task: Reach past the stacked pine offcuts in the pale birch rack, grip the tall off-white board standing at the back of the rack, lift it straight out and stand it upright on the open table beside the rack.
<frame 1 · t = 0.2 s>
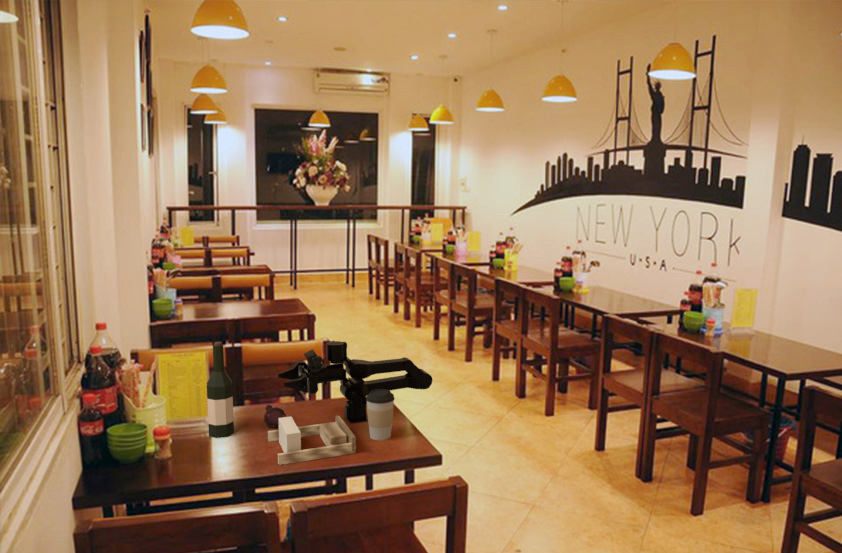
hand: (280, 380, 207), 17 cm above the table, tool horizontal, fingers open, 9 cm apart
offcut upper: (332, 437, 199), point 2 cm above the table, touching offcut lower
rack: (310, 446, 197), on the table
tall board: (289, 450, 194), on the table
coffee cup: (380, 436, 205), on the table
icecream: (275, 427, 212), on the table
offcut lower: (333, 444, 200), on the table, touching offcut upper
wine bottle: (221, 433, 207), on the table
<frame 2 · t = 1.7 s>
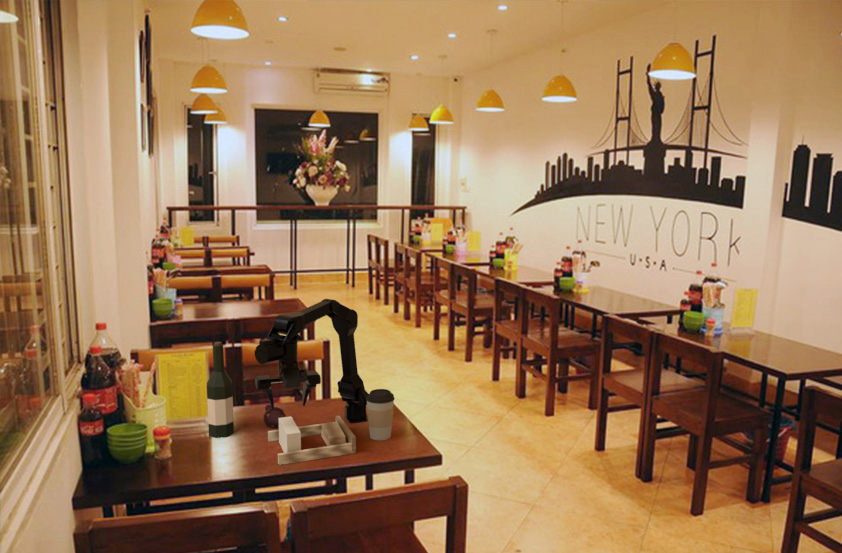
hand: (288, 407, 193), 13 cm above the table, tool pointing down, fingers open, 9 cm apart
nothing on the table moved.
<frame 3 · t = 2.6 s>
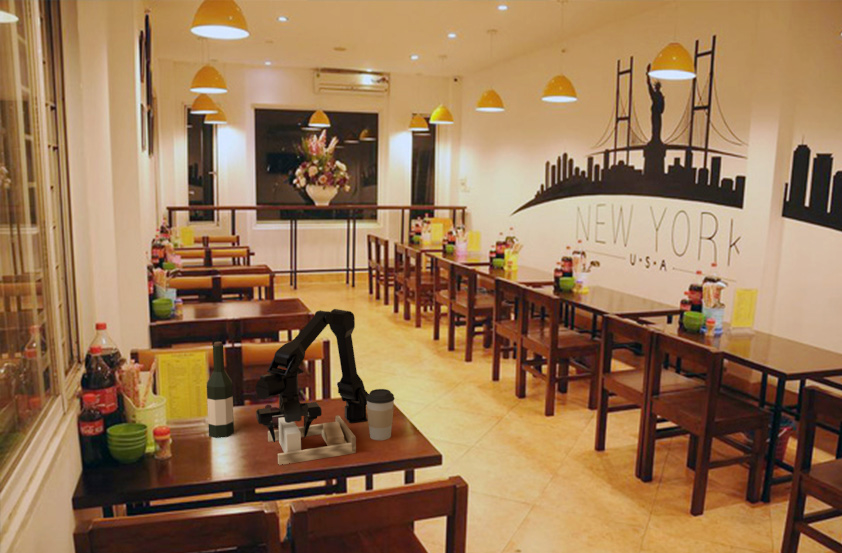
hand: (289, 439, 194), 3 cm above the table, tool pointing down, fingers open, 9 cm apart
offcut upper: (333, 437, 199), point 2 cm above the table, touching offcut lower, rack
everything else where it was.
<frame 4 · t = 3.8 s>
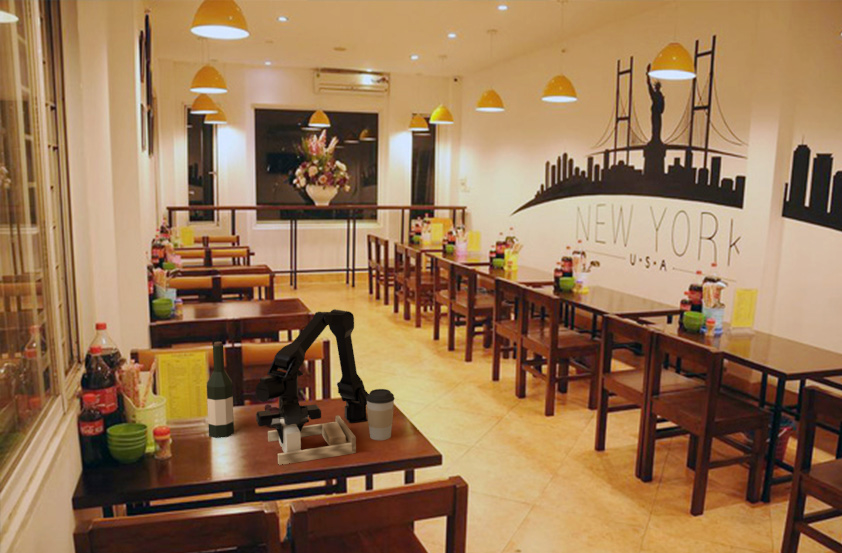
hand: (289, 442, 194), 2 cm above the table, tool pointing down, fingers closed on tall board, 4 cm apart
offcut upper: (333, 437, 199), point 2 cm above the table, touching offcut lower
tall board: (289, 449, 194), on the table, touching gripper
everything else where it was.
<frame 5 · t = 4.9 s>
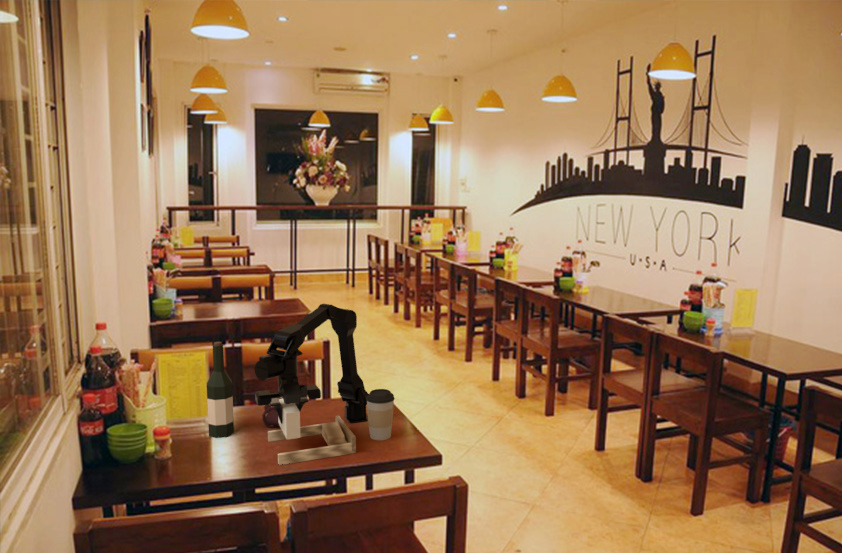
hand: (288, 422, 193), 9 cm above the table, tool pointing down, fingers closed on tall board, 4 cm apart
tall board: (289, 430, 193), point 6 cm above the table, touching gripper
everything else where it was.
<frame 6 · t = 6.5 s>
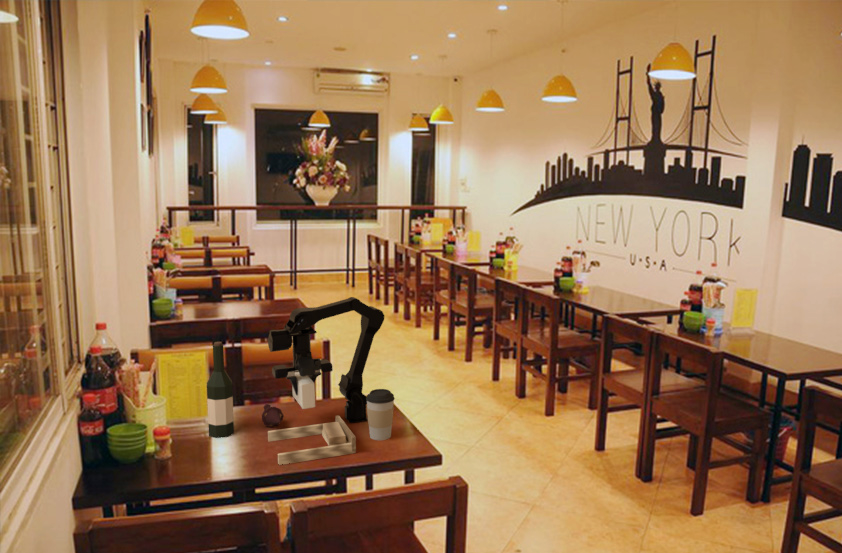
hand: (303, 393, 210), 12 cm above the table, tool pointing down, fingers closed on tall board, 4 cm apart
offcut upper: (334, 437, 199), point 2 cm above the table
tall board: (303, 401, 210), point 9 cm above the table, touching gripper
offcut lower: (335, 444, 200), on the table
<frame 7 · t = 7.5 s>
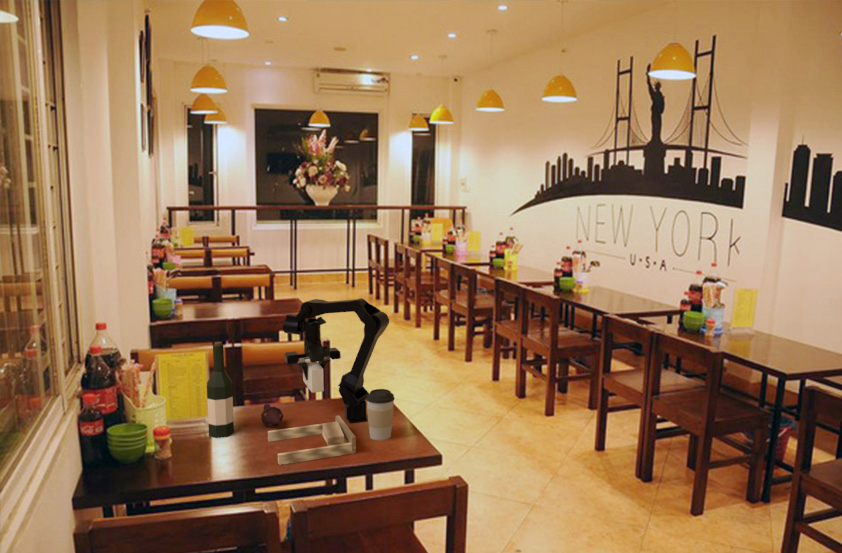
hand: (313, 379, 224), 12 cm above the table, tool pointing down, fingers closed on tall board, 4 cm apart
offcut upper: (333, 437, 199), point 2 cm above the table, touching offcut lower
tall board: (313, 386, 225), point 10 cm above the table, touching gripper
offcut lower: (335, 444, 200), on the table, touching offcut upper
when the fingers open (3 cm above the table, at t = 9.8 s): tall board drops 1 cm, on the table.
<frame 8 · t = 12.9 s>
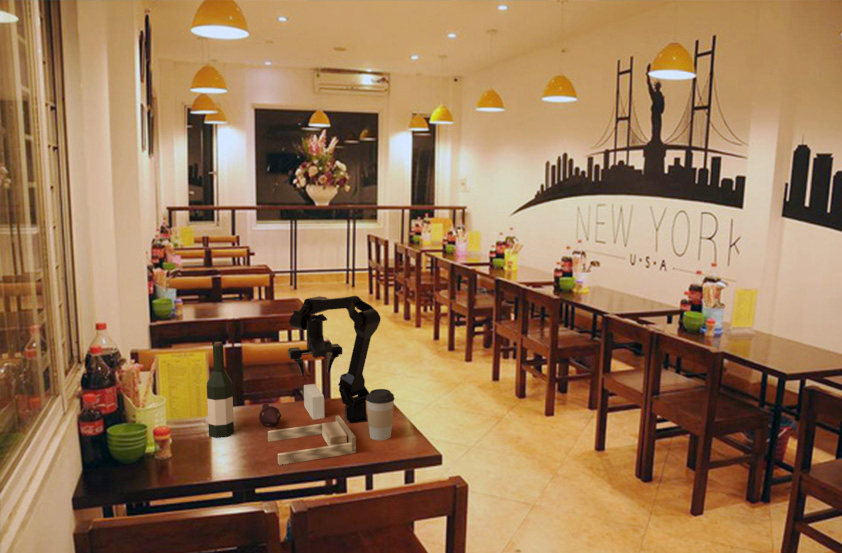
hand: (315, 374, 230), 12 cm above the table, tool pointing down, fingers open, 9 cm apart
tall board: (314, 412, 226), on the table
at the end: tall board inside the target area (0.1 cm from its centre), on the table; tall board tilted 0°; offcut upper moved 0.7 cm from its start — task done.
